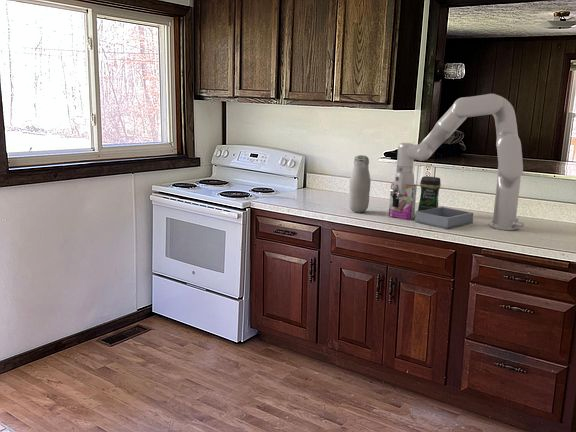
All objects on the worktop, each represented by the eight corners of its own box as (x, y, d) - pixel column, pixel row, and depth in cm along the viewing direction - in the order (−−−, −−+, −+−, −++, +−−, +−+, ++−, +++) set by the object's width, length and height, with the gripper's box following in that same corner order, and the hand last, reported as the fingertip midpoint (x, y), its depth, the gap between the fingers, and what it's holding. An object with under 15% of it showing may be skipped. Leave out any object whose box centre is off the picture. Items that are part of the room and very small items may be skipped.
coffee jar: (416, 214, 270) (419, 176, 266) (419, 211, 277) (422, 174, 273) (436, 216, 266) (439, 178, 262) (439, 213, 273) (442, 176, 269)
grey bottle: (346, 213, 270) (349, 155, 264) (350, 209, 279) (353, 153, 273) (366, 214, 267) (369, 156, 261) (370, 210, 276) (373, 154, 270)
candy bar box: (388, 217, 263) (390, 183, 259) (392, 215, 267) (394, 181, 263) (410, 220, 257) (413, 185, 253) (414, 218, 261) (417, 184, 257)
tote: (472, 223, 253) (473, 212, 252) (447, 229, 241) (448, 218, 240) (440, 216, 266) (441, 206, 265) (415, 222, 253) (416, 211, 252)
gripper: (399, 172, 249) (396, 209, 252) (422, 169, 259) (419, 205, 263) (386, 170, 254) (383, 206, 258) (409, 167, 265) (407, 202, 269)
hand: (402, 205), depth 260 cm, fingers open, 9 cm apart
